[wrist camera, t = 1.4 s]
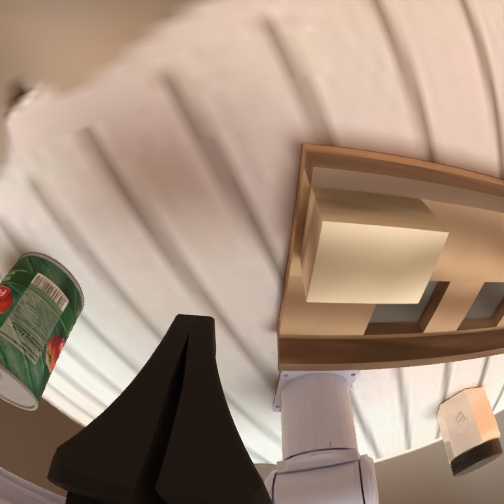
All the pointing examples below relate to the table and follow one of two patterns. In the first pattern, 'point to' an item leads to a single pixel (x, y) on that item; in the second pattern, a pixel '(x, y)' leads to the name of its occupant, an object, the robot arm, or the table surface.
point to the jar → (469, 431)
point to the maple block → (368, 247)
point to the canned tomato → (34, 325)
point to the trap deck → (437, 290)
